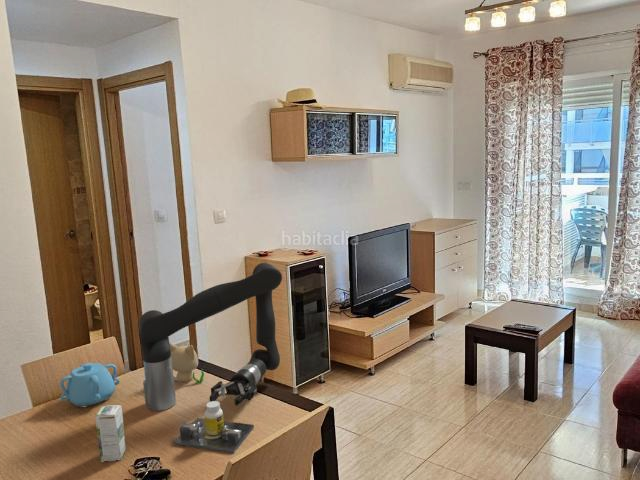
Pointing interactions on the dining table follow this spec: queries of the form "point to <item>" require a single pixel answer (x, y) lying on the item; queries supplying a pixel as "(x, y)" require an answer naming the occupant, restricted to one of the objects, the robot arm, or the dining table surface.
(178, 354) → the kitten
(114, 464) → the dining table surface
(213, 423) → the supplement bottle
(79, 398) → the decorative pot
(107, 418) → the syrup box
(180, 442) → the base
